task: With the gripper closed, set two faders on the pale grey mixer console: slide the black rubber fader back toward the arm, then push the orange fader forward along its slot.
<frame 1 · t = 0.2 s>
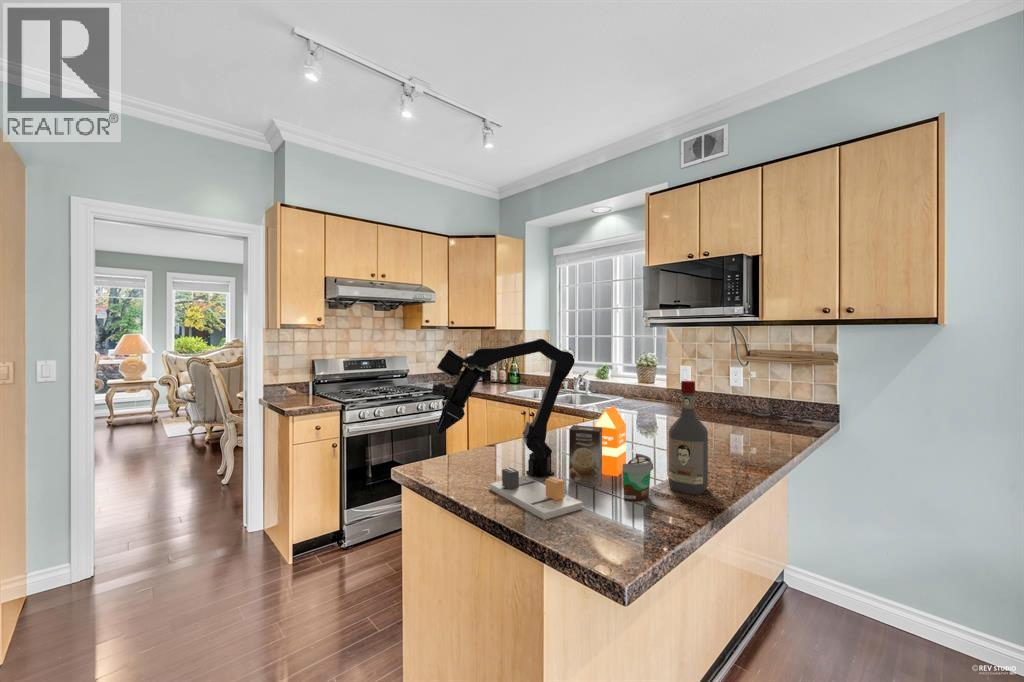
hand: (438, 429, 135), 15 cm above the countertop, tool tilted 30°, fingers open, 9 cm apart
food container: (640, 498, 119), on the countertop
coffee box: (585, 483, 131), on the countertop
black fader: (510, 478, 122), point 4 cm above the countertop, slide at 3.0 cm
liquor: (688, 489, 125), on the countertop
orange juice: (609, 471, 142), on the countertop
orange fader: (554, 488, 114), point 4 cm above the countertop, slide at -2.0 cm
console: (533, 498, 118), on the countertop
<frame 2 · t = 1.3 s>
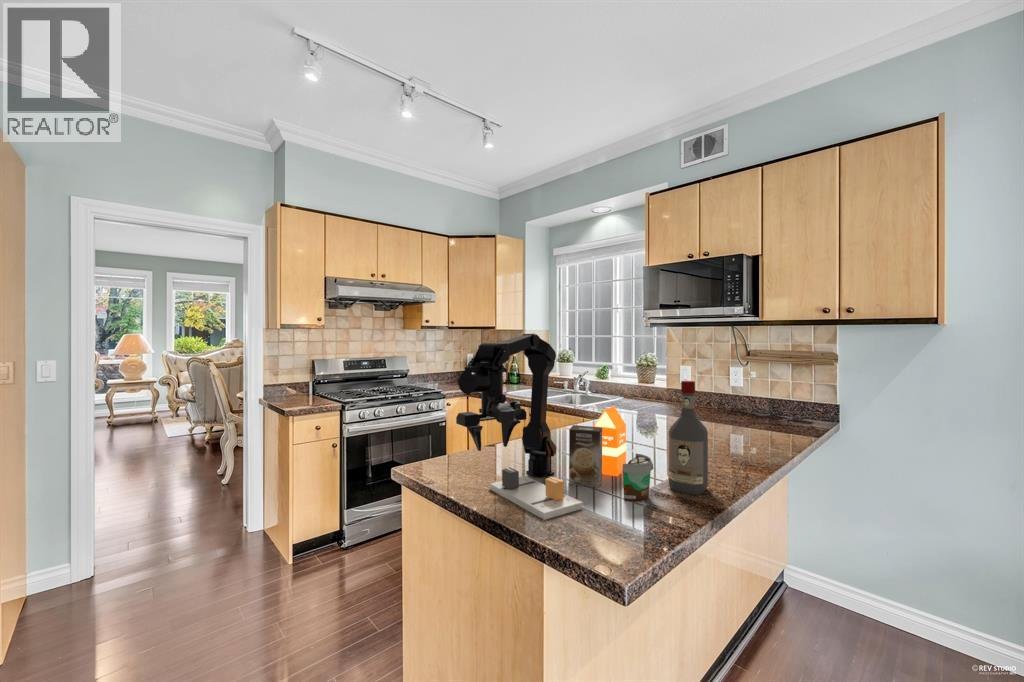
hand: (492, 448, 119), 13 cm above the countertop, tool pointing down, fingers open, 8 cm apart
nothing on the countertop moved.
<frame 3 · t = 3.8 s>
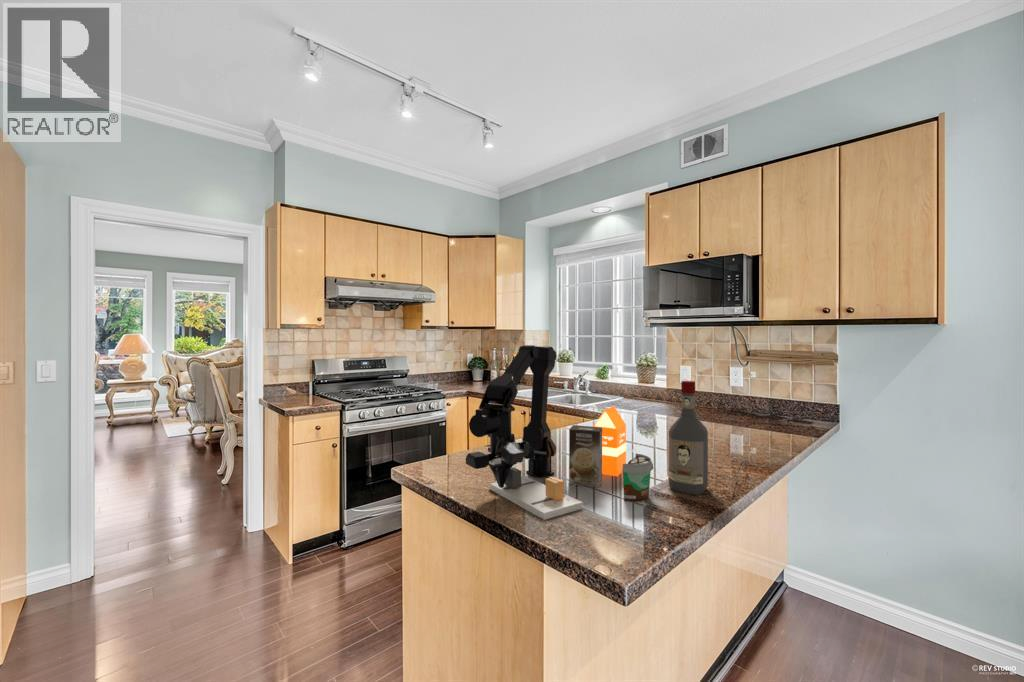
hand: (501, 487, 121), 2 cm above the countertop, tool pointing down, fingers closed
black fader: (512, 477, 123), point 4 cm above the countertop, slide at 2.1 cm, touching gripper
everything else where it was.
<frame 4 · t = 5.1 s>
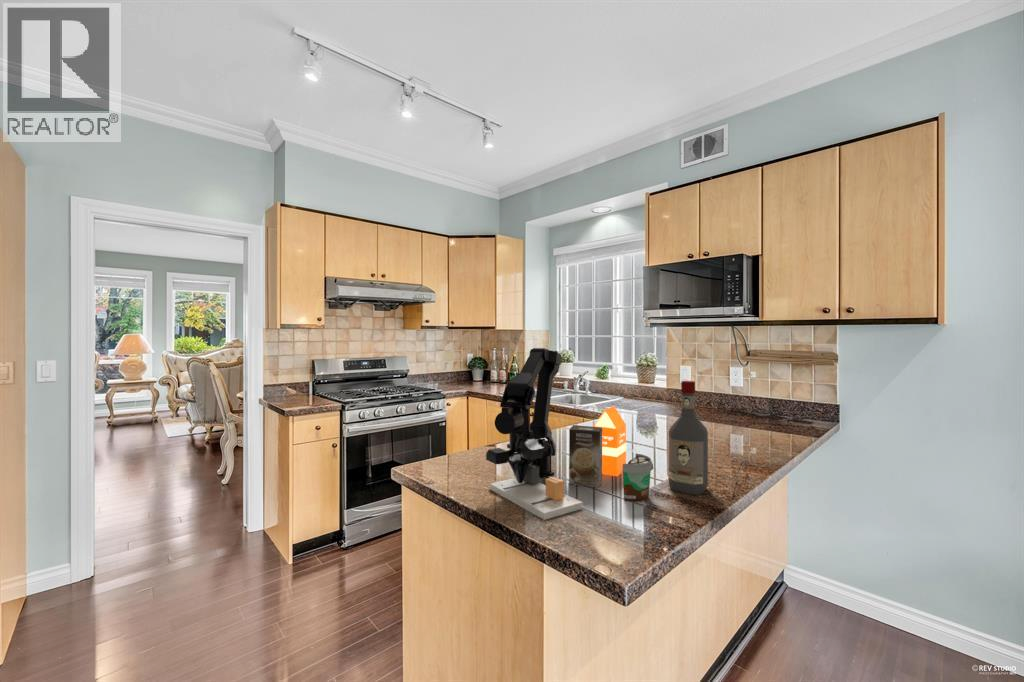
hand: (520, 482, 124), 2 cm above the countertop, tool pointing down, fingers closed
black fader: (531, 473, 126), point 4 cm above the countertop, slide at -4.0 cm, touching gripper
everything else where it was.
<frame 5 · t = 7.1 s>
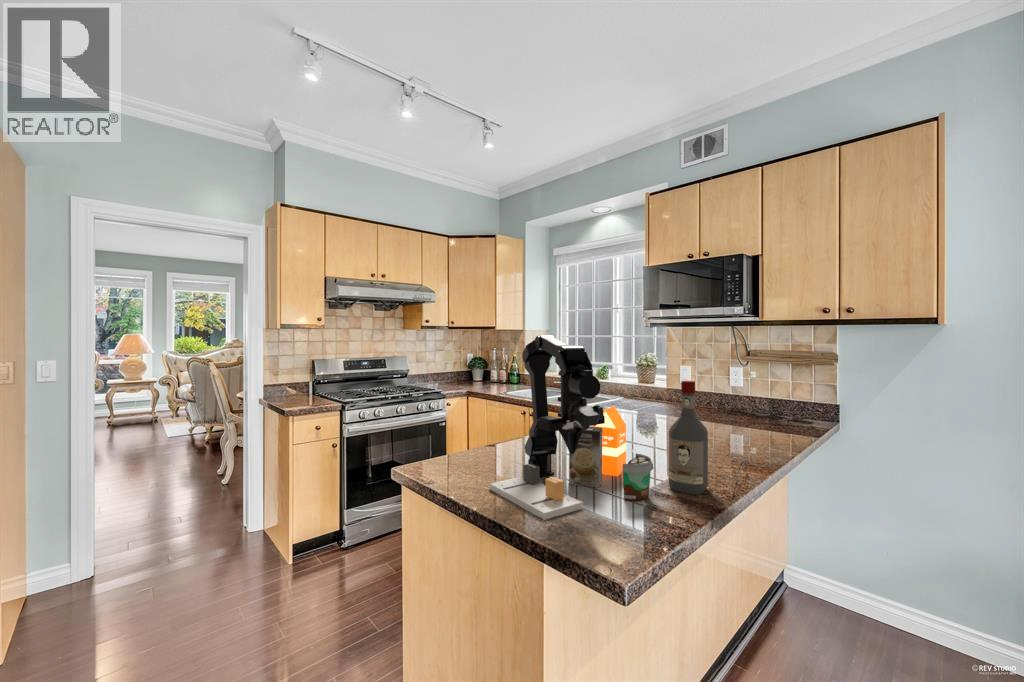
hand: (572, 453, 117), 12 cm above the countertop, tool pointing down, fingers closed
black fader: (531, 473, 126), point 4 cm above the countertop, slide at -4.1 cm
everything else where it was.
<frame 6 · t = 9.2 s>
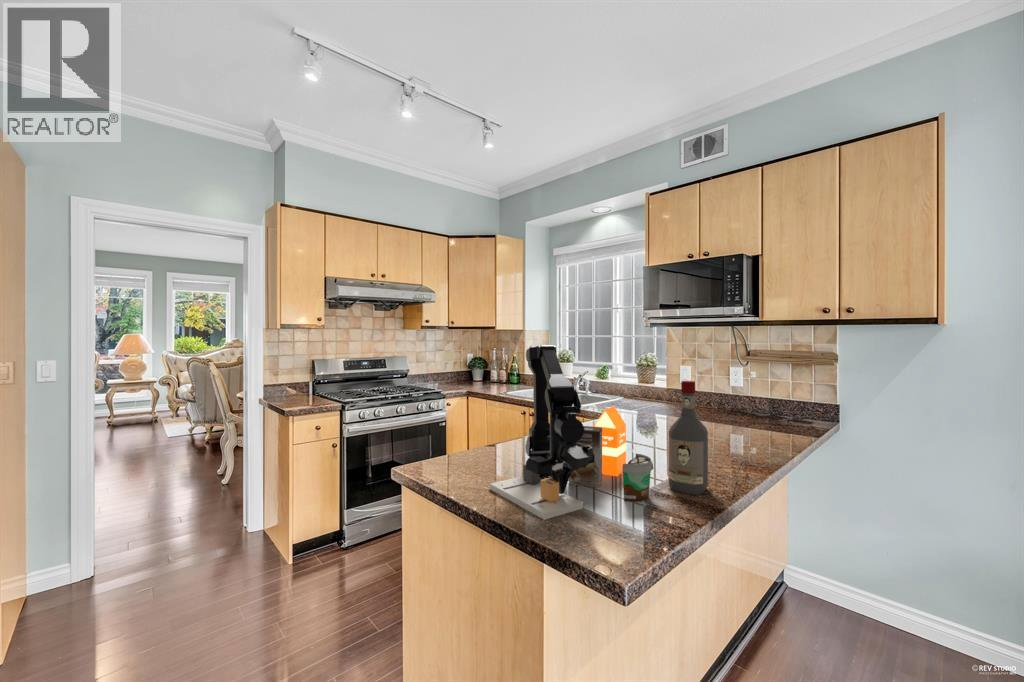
hand: (561, 493, 115), 2 cm above the countertop, tool pointing down, fingers closed
orange fader: (549, 489, 113), point 4 cm above the countertop, slide at -0.4 cm, touching gripper
everything else where it was.
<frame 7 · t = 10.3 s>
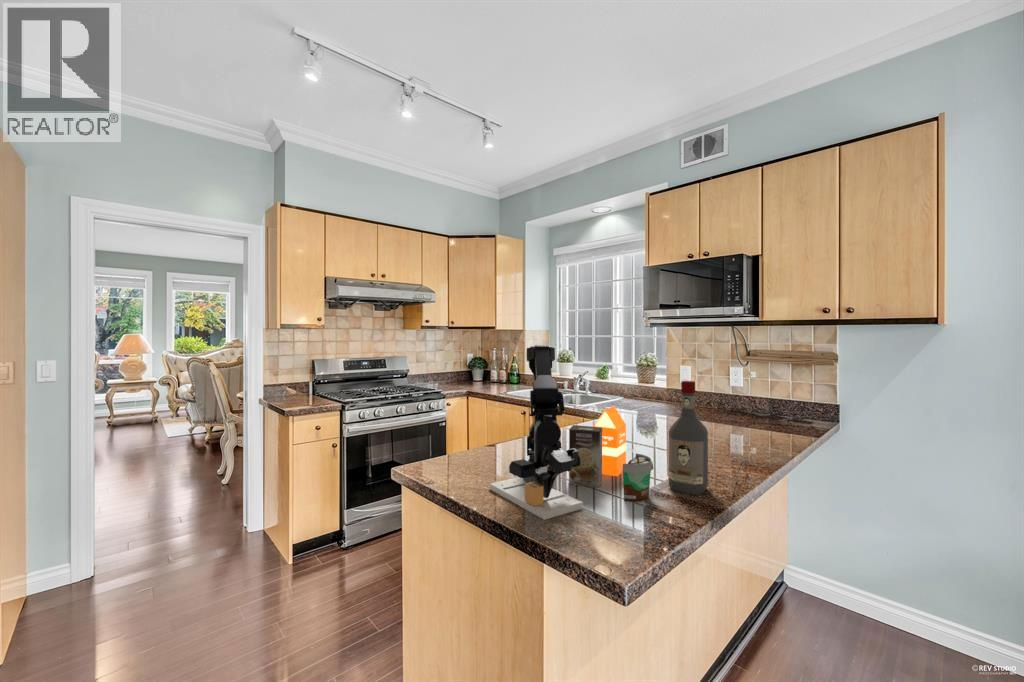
hand: (546, 497, 112), 2 cm above the countertop, tool pointing down, fingers closed
orange fader: (534, 493, 110), point 4 cm above the countertop, slide at 4.5 cm, touching gripper
everything else where it was.
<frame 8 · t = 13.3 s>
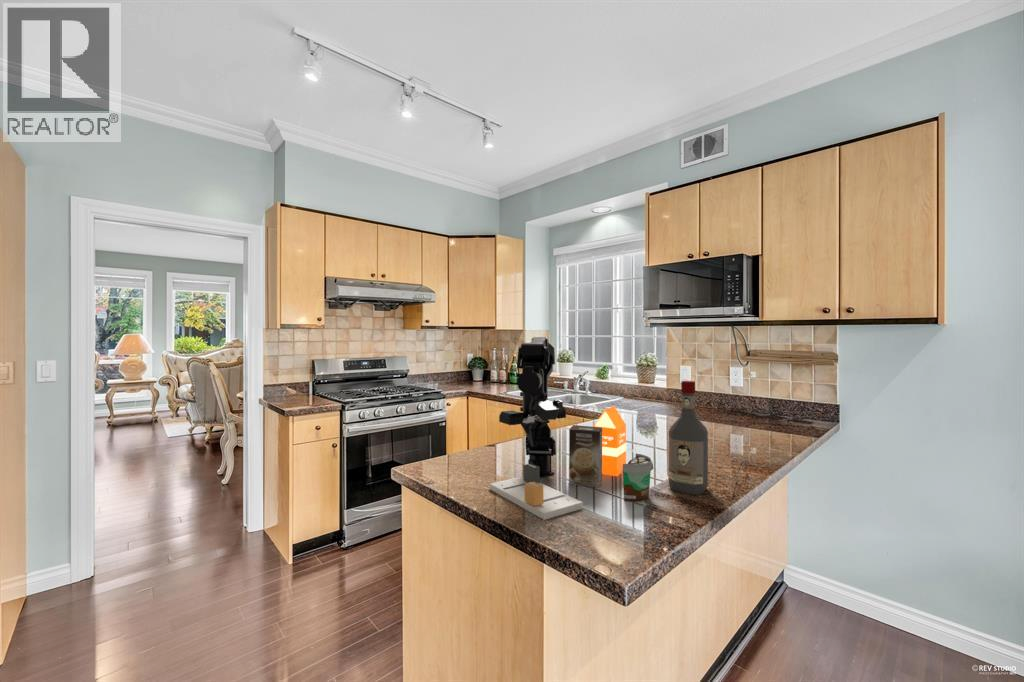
hand: (533, 446, 121), 13 cm above the countertop, tool pointing down, fingers closed
orange fader: (533, 493, 110), point 4 cm above the countertop, slide at 4.5 cm
everything else where it was.
at the end: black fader slide at -4.1 cm; orange fader slide at 4.5 cm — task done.
